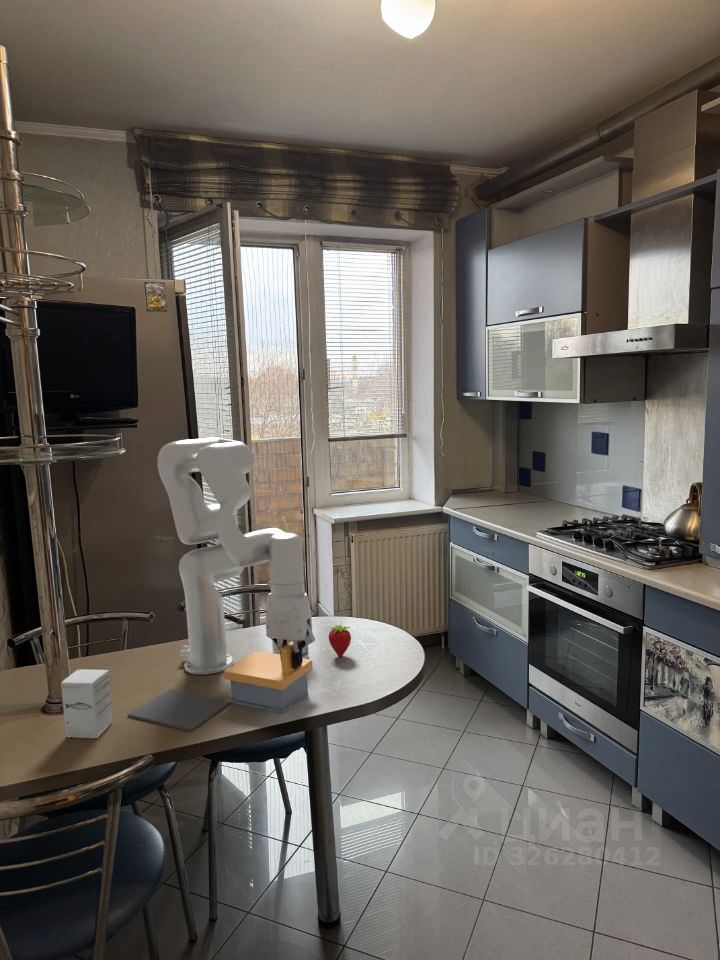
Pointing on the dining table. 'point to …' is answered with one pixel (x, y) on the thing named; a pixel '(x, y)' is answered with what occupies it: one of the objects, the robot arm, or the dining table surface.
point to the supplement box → (87, 703)
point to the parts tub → (269, 695)
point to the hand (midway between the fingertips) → (291, 665)
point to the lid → (268, 669)
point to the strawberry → (339, 639)
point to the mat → (179, 709)
